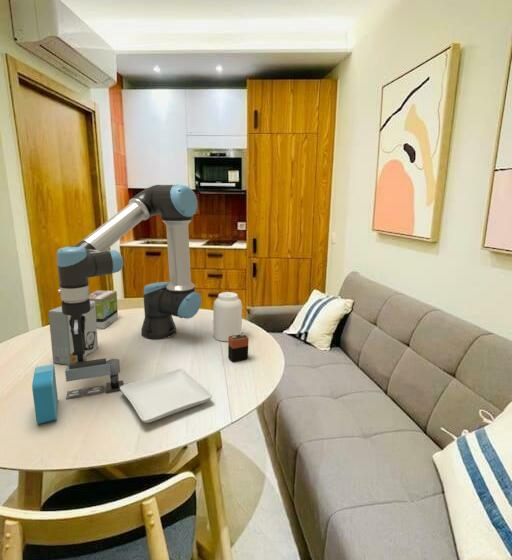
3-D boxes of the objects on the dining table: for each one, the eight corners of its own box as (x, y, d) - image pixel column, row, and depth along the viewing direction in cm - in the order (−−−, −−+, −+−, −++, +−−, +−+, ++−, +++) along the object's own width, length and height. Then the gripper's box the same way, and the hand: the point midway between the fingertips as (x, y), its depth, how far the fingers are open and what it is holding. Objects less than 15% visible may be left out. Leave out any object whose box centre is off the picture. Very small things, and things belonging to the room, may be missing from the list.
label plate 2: (103, 386, 107) (103, 385, 107) (102, 393, 103) (102, 391, 103) (85, 389, 105) (85, 388, 105) (84, 396, 101) (84, 394, 101)
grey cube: (123, 382, 109) (122, 369, 108) (123, 390, 105) (122, 376, 104) (106, 385, 108) (105, 371, 106) (106, 393, 103) (105, 379, 102)
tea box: (105, 329, 153) (102, 298, 150) (83, 328, 153) (80, 297, 150) (118, 318, 168) (116, 290, 165) (98, 317, 168) (96, 289, 165)
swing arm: (119, 369, 107) (119, 354, 106) (120, 374, 104) (119, 359, 103) (67, 376, 102) (66, 362, 101) (66, 382, 98) (64, 367, 97)
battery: (248, 359, 128) (249, 335, 126) (232, 362, 125) (232, 338, 123) (243, 354, 132) (244, 331, 130) (227, 358, 129) (228, 333, 127)
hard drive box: (70, 366, 119) (65, 313, 114) (52, 363, 120) (46, 310, 116) (99, 348, 134) (95, 300, 129) (82, 346, 135) (78, 299, 131)
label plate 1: (82, 390, 104) (81, 388, 104) (81, 396, 101) (81, 395, 101) (67, 392, 103) (67, 391, 103) (66, 399, 99) (65, 398, 99)
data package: (40, 402, 97) (35, 365, 95) (57, 399, 99) (53, 362, 97) (37, 427, 87) (31, 385, 84) (57, 422, 89) (52, 381, 87)
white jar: (230, 344, 141) (231, 299, 137) (207, 337, 148) (207, 294, 143) (246, 335, 152) (247, 293, 147) (224, 329, 158) (225, 288, 153)
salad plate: (181, 375, 116) (181, 366, 115) (213, 405, 100) (214, 394, 99) (118, 395, 103) (118, 385, 102) (143, 433, 87) (143, 421, 86)
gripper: (64, 294, 104) (70, 364, 109) (57, 307, 92) (65, 384, 97) (90, 293, 106) (96, 361, 112) (88, 304, 95) (94, 379, 100)
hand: (82, 371), depth 104 cm, fingers closed
